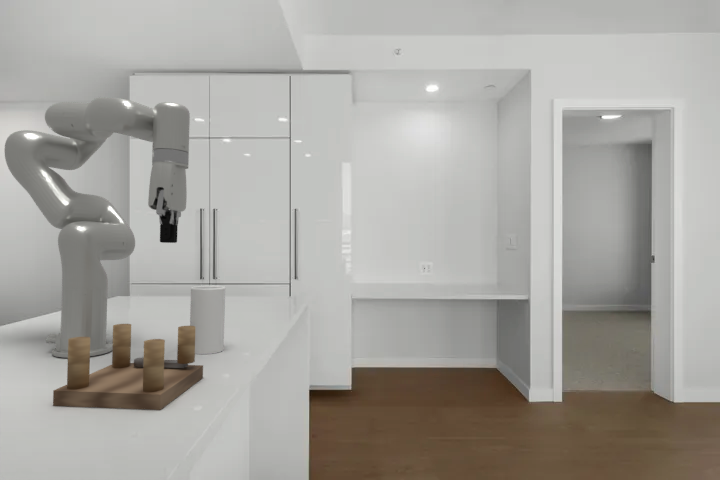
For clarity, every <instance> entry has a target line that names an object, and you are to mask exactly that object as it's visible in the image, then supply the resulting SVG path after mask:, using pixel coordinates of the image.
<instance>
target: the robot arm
mask: <svg viewBox="0 0 720 480" xmlns="http://www.w3.org/2000/svg"><path fill="white" fill-rule="evenodd" d="M190 114H191V113H190V111H189V109H188V108H187V107H186V106H184V105H183V104H180V103H175V102H166V101H165V102H158V103H157V104H155V106H154V107H153V108H152V107H149V106H146V105H144V104H141V103H140V102H139V103H138V102H136V101H132V100H129V99H127V98H126V99H125V98H120V97H96V98H94V99H93V100H91V101H90V102H75V101H74V102H73V101H71V102H70V101H64V102H56V103H54V104H52V105H50V106H49V107H48V108H47V109H46V110H45V113H44V121H45V124H46V126H47V127H48V128H49V129H50V130H51V131H52V132H54V133H56V134H58V135H55V134H50V133H46V132H42V131H37V130H25V129H24V130H17V131H15V132H13V133H11V134H9V136H8V137H7V138H6V140H5V143H4V159H5V163H6V165H7V168H8V170H9V172H10V174H12V176H13V178H14V179H15V181H16V182H18V183H19V185H20V186H21V187H22V188H23V189H24V190H25V191H26V192H27V194H28V195H29V197H30V198H31V199H32V201H33V202H34V204H35V205H36V207H37V208H38V209H39V211H40V212H41V213H42V215H43V216H44V218H45V219H46V220H47V222H48V223H49V224H50V225H51V226H53V227H54V228H57V229H59V230H60V231H59V232H58V237H57V246H58V251H59V256H60V263H61V306H60V307H61V308H60V310H61V311H60V312H61V313H60V333H58V334H57V333H50V334H49V335H48V336H47V338H46V339H45V343H46V344H55V347H54V348H53V349H52V351H51V352H52V353H51V355H52V356H53V357H57V358H63V359H64V358H65V359H68V339H70V338H74V337H90V357H94V356H95V357H96V356H100V355H104V354H105V355H106V354H107V353H110V352H112V350H113V343H110V342H107V327H108V326H107V324H108V323H107V317H108V289H109V287H108V280H109V279H108V276H107V275H108V274H107V272H106V269H105V268H104V266H103V263H102V262H101V261H117V260H122V259H126V258H128V257H130V256H131V254H133V253H134V251H135V248H136V238H135V235H134V233H133V230H132V229H131V227H130V226H129V224H128V223H127V222H126V221H125V219H124V218H123V217H122V215H121V214H120V213H119V211H118V210H117V209H116V207H115V206H114V205H113V203H112V202H110V200H107V199H106V198H104V197H103V196H99V195H95V194H87V193H81V192H77V191H75V190H74V189H72V188H71V187H70V186H69V184H68V183H67V181H66V179H64V177H62V176H61V175H60V174H59V173H58V172H56V171H55V170H54V169H57V170H58V169H59V170H63V171H64V170H66V171H73V170H77V169H80V167H82V166H83V165H85V163H87V161H89V159H90V158H91V157H92V156H93V155H94V154H95V153H97V151H98V150H99V148H101V146H102V145H103V144H104V143H105V142H106V141H107V139H108V138H110V137H111V136H112V135H113V134H114V133H115V134H120V135H125V136H127V137H131V138H134V139H135V138H136V139H140V140H142V141H145V142H149V143H152V149H151V150H152V151H151V152H152V155H151V163H152V164H151V171H150V175H149V176H150V177H149V178H150V179H149V185H148V186H149V188H148V200H147V204H148V205H147V206H148V207H149V208H150V209H151V210H153V211H155V210H156V211H155V214H156V215H157V216H158V217H159V225H160V226H159V242H160V243H163V244H164V243H165V244H166V243H167V244H169V243H170V244H171V243H172V244H173V243H174V244H176V243H177V242H178V226H179V219H180V218H181V216H182V213H183V212H184V211H186V208H187V194H188V192H187V191H188V190H187V174H186V173H187V169H189V163H190V162H189V161H190V159H189V158H190V153H189V152H190V125H191V124H190V123H191V122H190V121H191V119H190V118H191V117H190ZM52 168H53V169H52Z"/></svg>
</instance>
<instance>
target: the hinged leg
mask: <svg viewBox="0 0 720 480" xmlns="http://www.w3.org/2000/svg"><path fill="white" fill-rule="evenodd" d="M195 328H196V327H195V326H190V325H181V326H178V328H177V356H176V358H177V359H164V368H185V367H186V366H188V365H190V364H193V363H195V362H196V358H195V356H196V354H195ZM143 361H144V357H137V358H134V359H133V363H134V367H143Z"/></svg>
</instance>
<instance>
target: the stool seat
mask: <svg viewBox="0 0 720 480" xmlns="http://www.w3.org/2000/svg"><path fill="white" fill-rule="evenodd" d="M165 341H166V340H165V339H164V338H163V339H161V338H153V339H152V338H151V339H146V340H144V341H143V358H144V361H143V367H134V362H131V350H132V324H131V323H118V324H113V325H112V344H113V350H112V351H111V352H112V353H111V355H112V356H111V357H112V358H111V364H109V365H108V366H106V367H103V368H100V369H98V370H96V371H94V372H92V373H90V359H91V356H90V337H74V338H70V339H68V358H67V369H66V370H67V376H66V378H67V379H66V380H67V381H66V384H65V385H63V386H60V387H59V388H56V389H54V390H53V392H52V393H53V395H52V406H53V407H54V406H55V407H73V408H74V407H76V408H77V407H78V408H101V409H123V410H124V409H127V410H147V411H148V410H152V411H153V410H154V411H162V410H163V409H164V408H165V407H166V406H168V405H169V404H170V403H171V402H173V401H174V400H175V399H177V398H178V397H180V396H181V395H182V394H184V393H185V392H187V391H188V390H189V389H190V388H191V387H193V386H194V385H195V384H198V382H200V381H201V380H202V379H204V365H198V364H188V366H186V367H185V368H164V360H165V351H166V349H165V346H166V344H165V343H166V342H165Z"/></svg>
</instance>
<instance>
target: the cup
mask: <svg viewBox="0 0 720 480" xmlns="http://www.w3.org/2000/svg"><path fill="white" fill-rule="evenodd" d="M225 303H226V286H224V285H223V286H222V285H194V286H191V287H190V309H189V310H190V315H189V316H190V317H189V326H195V327H196V328H195V355H212V353H214V354H218V353H217V352H219V353H221V351H222V352H223V351H224V350H225V315H226V314H225V313H226V311H225V310H226V309H225V308H226V304H225Z"/></svg>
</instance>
